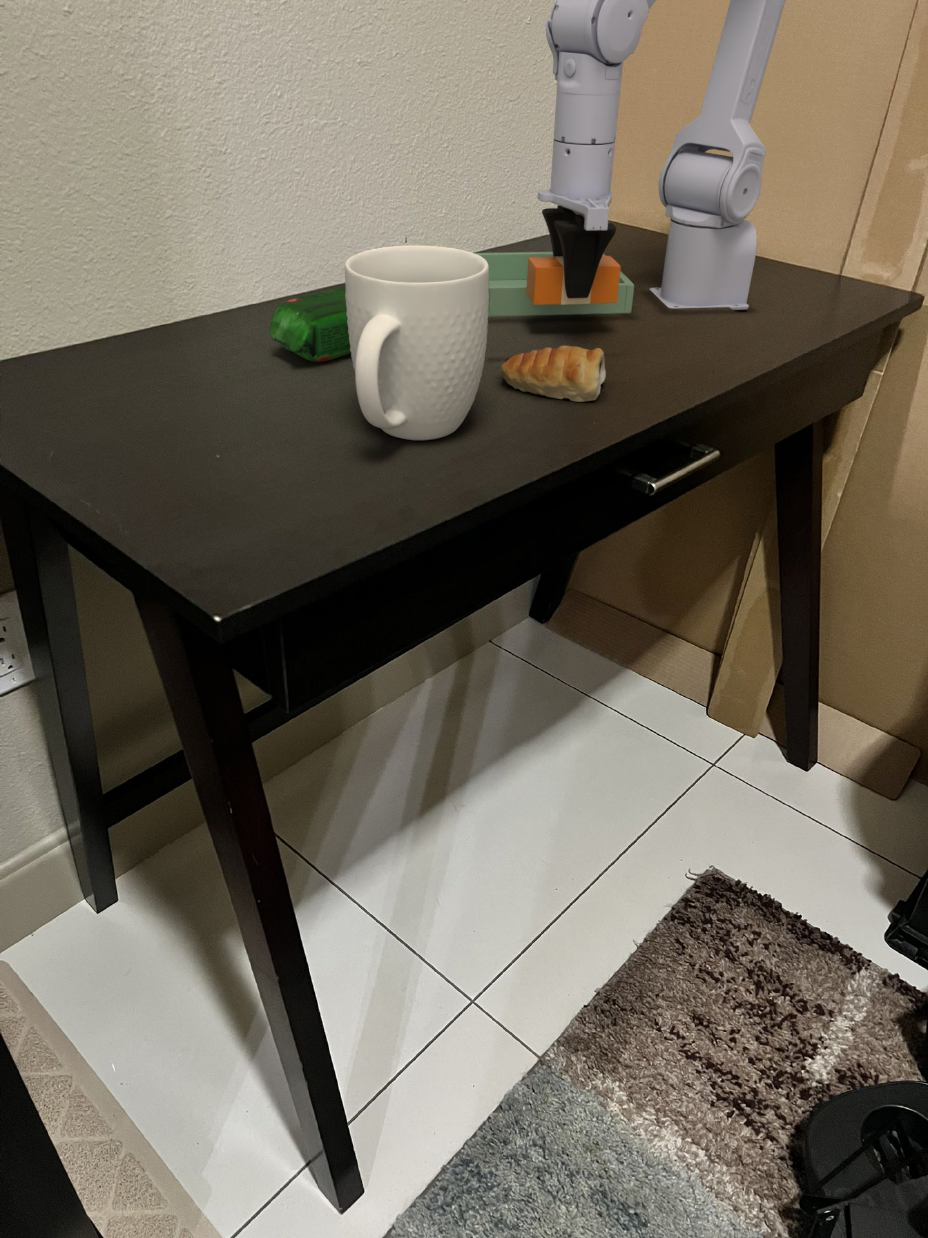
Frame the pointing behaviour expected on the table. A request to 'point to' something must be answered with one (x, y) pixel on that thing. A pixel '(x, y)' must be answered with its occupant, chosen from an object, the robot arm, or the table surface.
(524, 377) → the pastry
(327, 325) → the snack package
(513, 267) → the tub
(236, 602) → the table surface
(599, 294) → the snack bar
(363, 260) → the mug
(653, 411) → the table surface
